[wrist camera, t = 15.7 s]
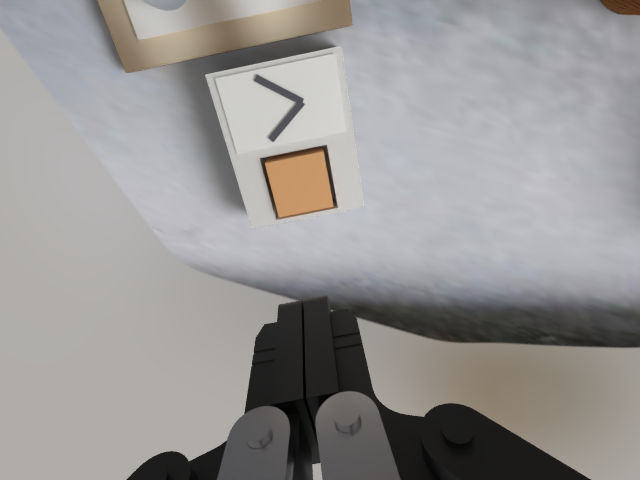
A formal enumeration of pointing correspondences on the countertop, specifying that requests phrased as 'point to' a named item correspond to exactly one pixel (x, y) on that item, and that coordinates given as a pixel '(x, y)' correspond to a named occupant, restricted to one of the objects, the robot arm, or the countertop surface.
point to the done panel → (288, 126)
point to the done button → (299, 181)
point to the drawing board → (212, 27)
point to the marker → (165, 4)
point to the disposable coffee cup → (623, 6)
